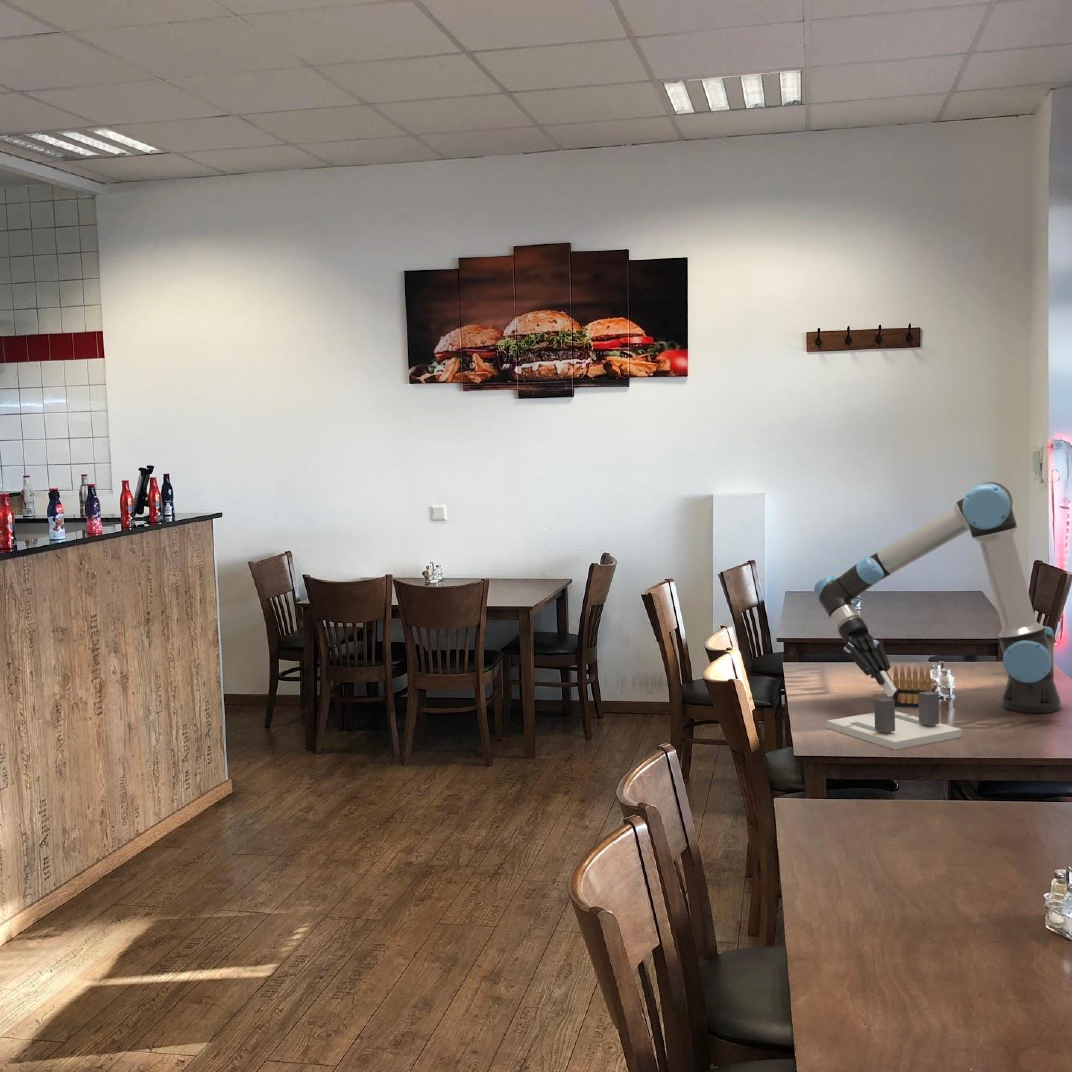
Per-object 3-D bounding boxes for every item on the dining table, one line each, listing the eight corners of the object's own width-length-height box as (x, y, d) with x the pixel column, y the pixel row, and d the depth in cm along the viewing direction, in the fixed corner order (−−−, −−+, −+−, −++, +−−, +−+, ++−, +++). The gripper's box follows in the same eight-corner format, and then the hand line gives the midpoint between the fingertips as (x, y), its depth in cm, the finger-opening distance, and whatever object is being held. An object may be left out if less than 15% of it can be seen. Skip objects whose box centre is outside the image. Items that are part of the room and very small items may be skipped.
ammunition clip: (932, 707, 320) (931, 665, 319) (932, 708, 318) (931, 666, 317) (893, 705, 324) (892, 664, 323) (892, 706, 323) (891, 665, 322)
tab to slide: (918, 723, 293) (918, 692, 292) (929, 721, 294) (928, 691, 294) (928, 725, 290) (928, 695, 289) (939, 723, 291) (938, 693, 291)
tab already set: (874, 730, 288) (874, 699, 287) (885, 728, 289) (884, 697, 289) (884, 732, 285) (883, 701, 284) (895, 731, 286) (894, 700, 286)
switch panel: (826, 728, 302) (826, 720, 302) (890, 716, 311) (890, 708, 311) (895, 749, 278) (894, 741, 278) (961, 737, 287) (961, 728, 287)
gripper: (861, 630, 323) (904, 698, 309) (825, 635, 318) (866, 704, 304) (874, 614, 318) (917, 682, 304) (837, 618, 312) (880, 688, 299)
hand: (892, 693), depth 304 cm, fingers closed
